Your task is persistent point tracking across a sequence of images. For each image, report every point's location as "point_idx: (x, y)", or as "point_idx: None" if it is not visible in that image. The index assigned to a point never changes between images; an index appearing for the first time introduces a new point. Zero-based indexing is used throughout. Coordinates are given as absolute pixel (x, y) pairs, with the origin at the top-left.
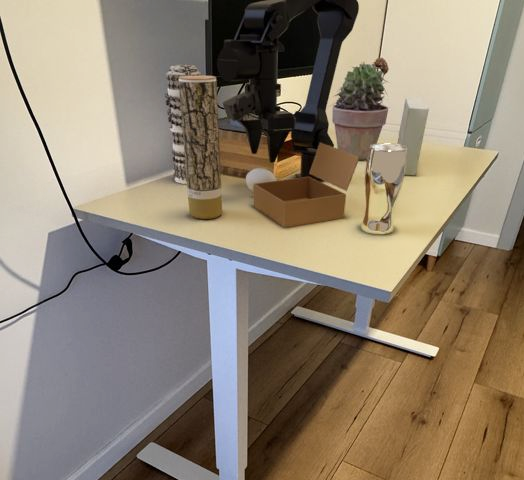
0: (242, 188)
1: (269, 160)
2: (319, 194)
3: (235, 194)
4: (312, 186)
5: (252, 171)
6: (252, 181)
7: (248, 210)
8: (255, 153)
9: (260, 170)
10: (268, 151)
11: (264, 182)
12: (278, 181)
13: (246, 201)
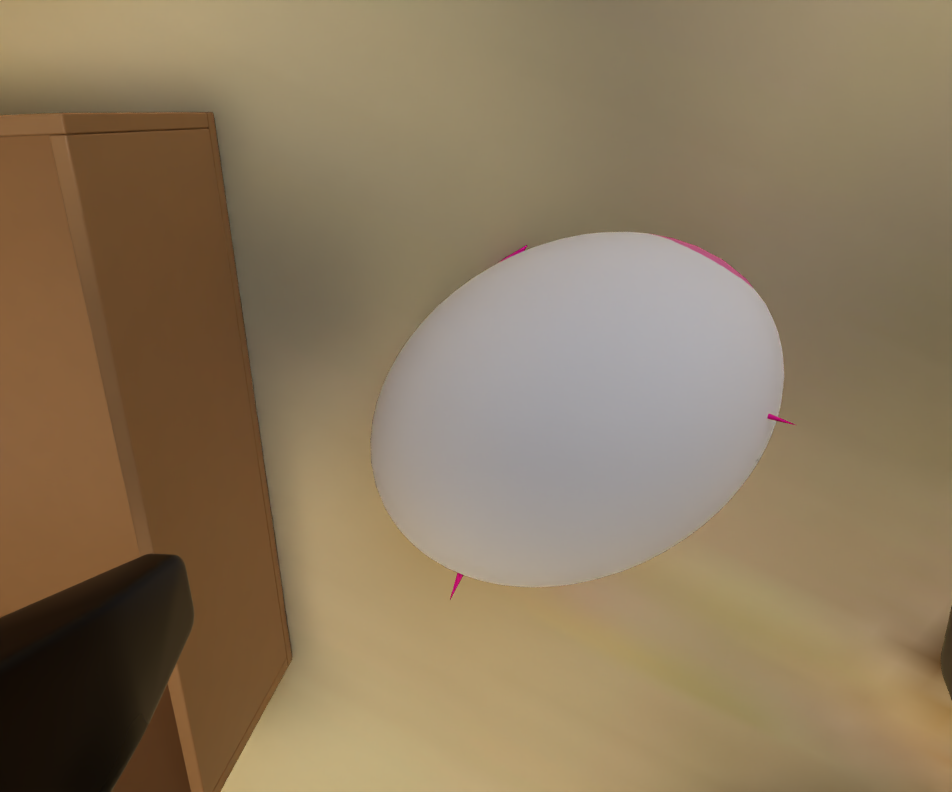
0: (903, 271)
1: (155, 562)
2: None
3: (715, 89)
4: (152, 736)
5: (587, 343)
6: (493, 269)
7: (108, 5)
8: (945, 647)
9: (493, 441)
10: (25, 642)
11: (95, 289)
12: (122, 471)
13: (404, 110)
